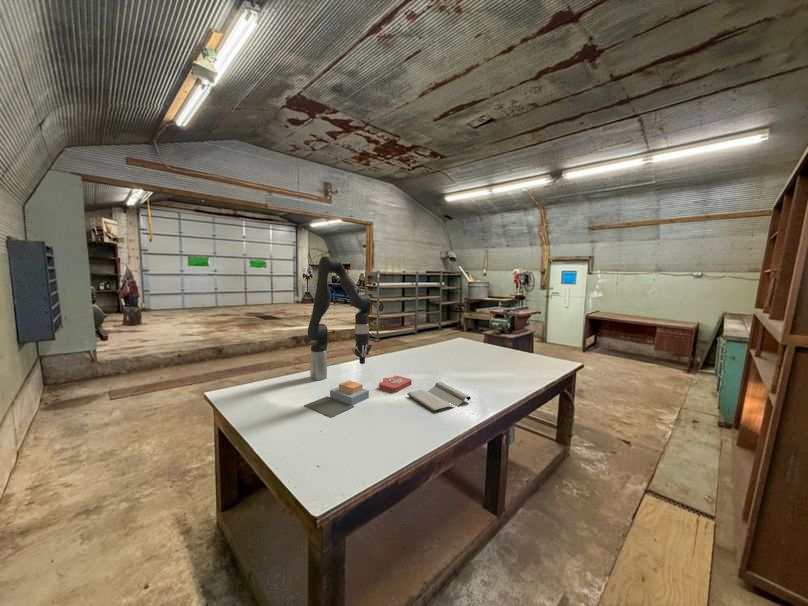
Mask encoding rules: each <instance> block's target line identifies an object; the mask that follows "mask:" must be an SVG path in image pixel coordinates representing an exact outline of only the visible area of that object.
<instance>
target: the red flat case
mask: <svg viewBox="0 0 808 606" xmlns="http://www.w3.org/2000/svg"><path fill="white" fill-rule="evenodd" d="M412 381H413V380H412V378H409V377H404V376H400V375H394V376H392V377H384V378H383V379H382V381H380V382H379V383H378V389H379V390H382V391H385V392H389V393H395V394H396V393H399V392H400V391H402V390H404V389H406V388H408V387H410V386H411V385H412Z"/></svg>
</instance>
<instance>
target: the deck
mask: <svg viewBox="0 0 808 606" xmlns="http://www.w3.org/2000/svg"><path fill="white" fill-rule="evenodd" d="M362 389H363V390H361V391H359V392H357V393H354V394H351V393H348V392H345V391H342V390H339V386H337V387H335V388H332V389H330V390H329V397H330V398H333V399H336V400H338V401H341V402H344V403H347V404H349V405H352V406H355V405H356V404H359V403H361V402H363V401H365V400H368V399H369V396H370V395H369V391H370V390H368V389H365V388H362Z"/></svg>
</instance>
